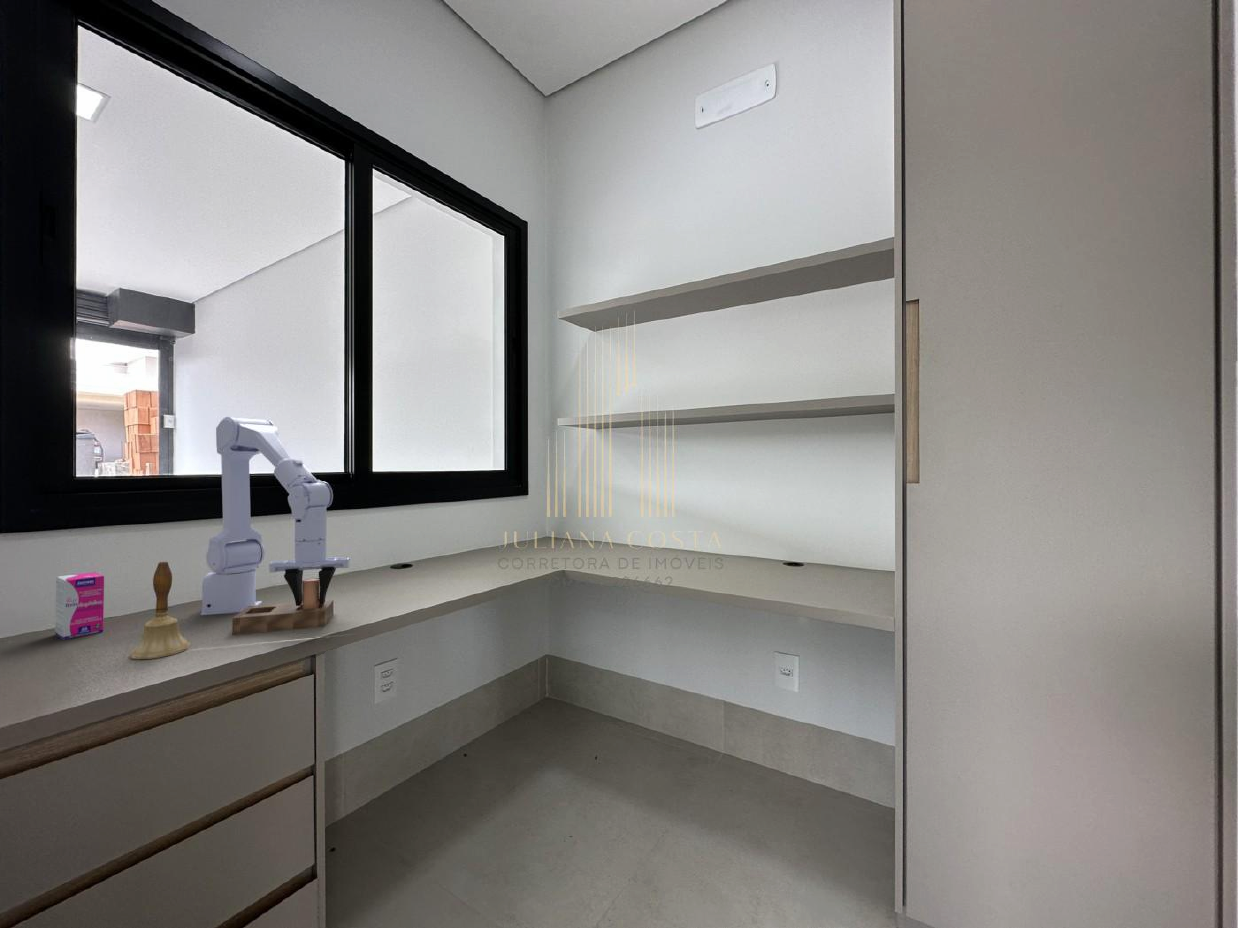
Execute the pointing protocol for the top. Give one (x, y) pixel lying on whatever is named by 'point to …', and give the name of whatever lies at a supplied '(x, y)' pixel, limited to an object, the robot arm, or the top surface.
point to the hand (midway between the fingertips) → (310, 603)
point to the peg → (310, 594)
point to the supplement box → (79, 605)
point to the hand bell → (161, 623)
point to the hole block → (280, 617)
